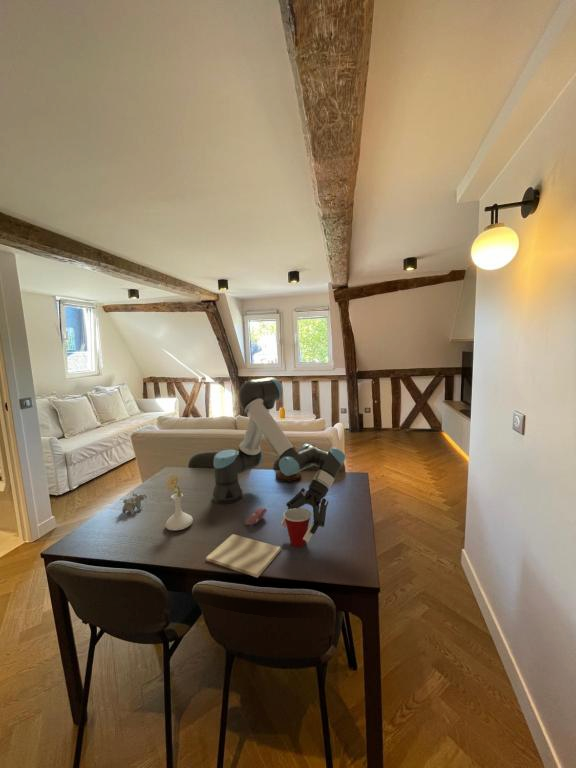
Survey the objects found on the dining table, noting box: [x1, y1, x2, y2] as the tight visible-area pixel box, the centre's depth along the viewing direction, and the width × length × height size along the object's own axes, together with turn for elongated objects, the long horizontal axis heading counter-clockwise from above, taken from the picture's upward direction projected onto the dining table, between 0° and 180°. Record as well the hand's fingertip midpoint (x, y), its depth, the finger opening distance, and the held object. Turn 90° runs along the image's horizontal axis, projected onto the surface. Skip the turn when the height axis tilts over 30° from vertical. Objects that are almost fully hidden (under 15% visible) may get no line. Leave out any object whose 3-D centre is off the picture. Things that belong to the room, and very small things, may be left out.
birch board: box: [205, 533, 282, 578], centre depth 121 cm, size 22×16×1 cm
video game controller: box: [244, 506, 268, 526], centre depth 144 cm, size 10×5×7 cm, turn 148°
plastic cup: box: [282, 507, 312, 548], centre depth 127 cm, size 11×11×12 cm
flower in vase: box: [165, 472, 194, 532], centre depth 141 cm, size 13×11×25 cm
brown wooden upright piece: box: [275, 445, 302, 484], centre depth 188 cm, size 15×15×20 cm
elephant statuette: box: [121, 492, 148, 516], centre depth 159 cm, size 9×12×8 cm
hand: (293, 533), depth 125 cm, fingers open, 13 cm apart
